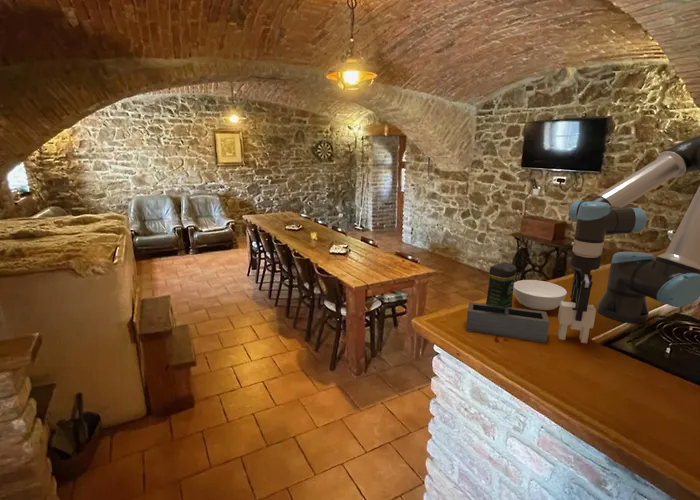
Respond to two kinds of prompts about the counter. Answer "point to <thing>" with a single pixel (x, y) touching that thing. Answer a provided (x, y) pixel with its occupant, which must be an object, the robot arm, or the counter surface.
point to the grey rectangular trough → (507, 322)
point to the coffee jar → (501, 284)
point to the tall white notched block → (566, 319)
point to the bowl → (539, 294)
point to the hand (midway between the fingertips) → (574, 325)
